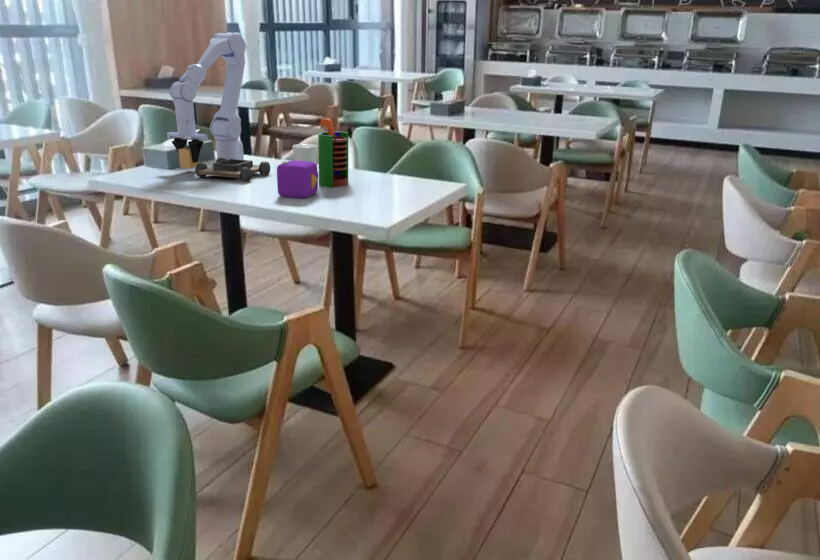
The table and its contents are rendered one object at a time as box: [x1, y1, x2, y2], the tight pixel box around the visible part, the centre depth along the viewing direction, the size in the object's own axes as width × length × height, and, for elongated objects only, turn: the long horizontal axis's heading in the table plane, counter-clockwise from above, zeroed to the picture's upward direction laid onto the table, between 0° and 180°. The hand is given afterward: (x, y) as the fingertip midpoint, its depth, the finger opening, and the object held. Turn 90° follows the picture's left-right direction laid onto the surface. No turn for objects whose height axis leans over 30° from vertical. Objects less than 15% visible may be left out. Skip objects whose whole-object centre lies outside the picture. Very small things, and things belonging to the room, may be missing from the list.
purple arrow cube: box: [276, 159, 319, 199], centre depth 198 cm, size 11×14×10 cm
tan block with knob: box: [178, 144, 200, 169], centre depth 225 cm, size 5×4×7 cm
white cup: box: [292, 143, 318, 165], centre depth 222 cm, size 8×8×10 cm
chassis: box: [194, 158, 271, 183], centre depth 221 cm, size 16×18×5 cm
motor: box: [317, 118, 349, 189], centre depth 209 cm, size 10×9×20 cm
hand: (189, 161), depth 226 cm, fingers closed on tan block with knob, 4 cm apart
